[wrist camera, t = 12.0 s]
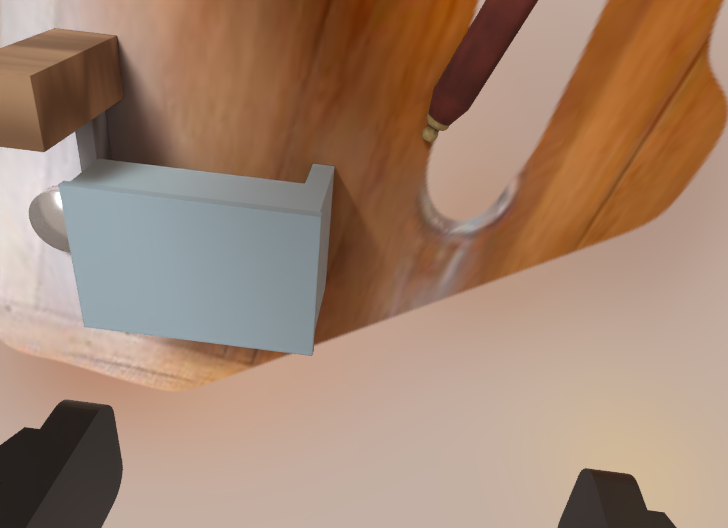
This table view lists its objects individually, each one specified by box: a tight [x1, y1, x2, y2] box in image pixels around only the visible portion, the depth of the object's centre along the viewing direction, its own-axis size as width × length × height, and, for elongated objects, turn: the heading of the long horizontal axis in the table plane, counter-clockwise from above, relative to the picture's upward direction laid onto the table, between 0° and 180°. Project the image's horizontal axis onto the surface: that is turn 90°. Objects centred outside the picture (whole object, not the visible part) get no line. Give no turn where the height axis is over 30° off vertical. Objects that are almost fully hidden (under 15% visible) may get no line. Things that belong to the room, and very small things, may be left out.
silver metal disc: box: [29, 186, 70, 252], centre depth 46 cm, size 5×5×1 cm
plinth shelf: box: [58, 159, 335, 356], centre depth 41 cm, size 10×15×8 cm
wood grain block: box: [0, 28, 123, 172], centre depth 39 cm, size 16×4×10 cm, turn 174°
